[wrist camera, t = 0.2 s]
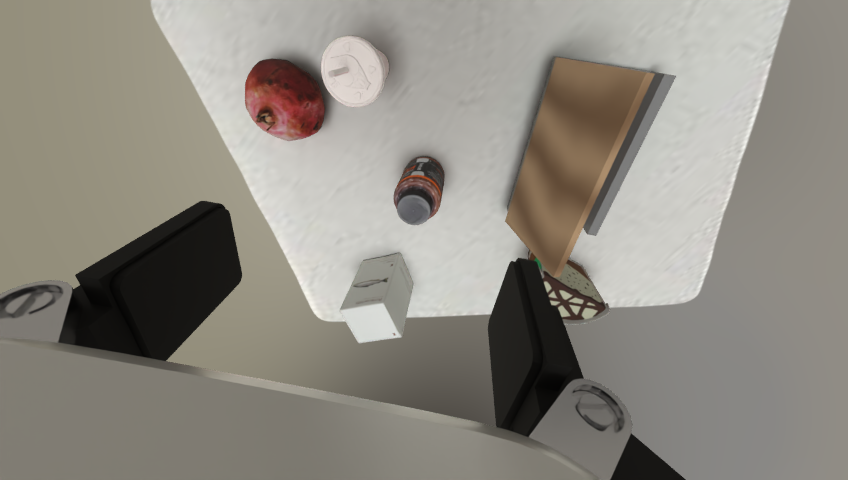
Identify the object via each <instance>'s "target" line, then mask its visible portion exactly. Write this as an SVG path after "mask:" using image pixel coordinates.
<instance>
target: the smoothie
mask: <svg viewBox="0 0 848 480" xmlns="http://www.w3.org/2000/svg"><path fill="white" fill-rule="evenodd" d="M321 74H322V78H323V81H324V84H325V86H326V88H327V90H328V91H329V93H330V94H331V95H332V96H333V97H334V98H335V99H336V100H337V101H339V102H340V103H342V104H344V105H346V106H349V107H362V106H365V105H368V104H371V103H372V102H373V101H375V100H376V99H377V98H378V96H379V95H380V94H381V92H382V89H383V87H384V83H385V79H386V78H387V76H388V74H389V62H388V59H387V57H386V56H385V55H384V54H383V53H382V52H381V51H379V50H377V49H376V48H375V47H374V46H373V45H372V44H371V43H370V42H368V41H366V40H365V39H363V38H361V37H357V36H353V35H352V36H343V37H340V38H337V39H335V40H334V41H332V42H331V43H330V44H329V45H328V46H327V48H326V49H325V51H324V53H323V56H322V60H321Z"/></svg>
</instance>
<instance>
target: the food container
mask: <svg viewBox="0 0 848 480" xmlns="http://www.w3.org/2000/svg"><path fill="white" fill-rule="evenodd" d="M528 260H533V261H536V262H537V264H538V267H539V270H540V272H541V275H542V278H543V281H544V284H545V287H546V290H547V293H548V296H549V299H550V302H551V305H555V306H557V307H558V309H559V311H560V314H561V317H562V319H563V322H564V324H584V323H589V322H592V321H595V320H598V319H600V318H602V317H604V316H606V315H607V314H609V313H610V311H609V310H610V308H609V306H608V303H606V304H605V302H604V301H603V299H602V297H601V296H600V294H599V292H598V291H597V289H596V287H595V286H594V284H593V283H592V281H591V279H590V278H589V276H588V274H587V273H586V271H585V269H584V268H583V266H582V265H580V264H578V263H577V262H575V261H573V260H571V259H569V258H568V260H567V262H566V265H565V267H564V269H563V271H562V273H561V275H560V277H553V276H552V275H551V274H550V273H549V271H548V270H547V269H546V268H545V267H544V266H543V265H542V263H541V262H540V261H539V260H538V259H537V258H536V256H535V255H534V254H533V253H532V252H531V251H530V250H529V252H528Z"/></svg>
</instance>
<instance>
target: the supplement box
mask: <svg viewBox="0 0 848 480" xmlns="http://www.w3.org/2000/svg"><path fill="white" fill-rule="evenodd" d="M412 288H413V282H412V279H411V277H410V275H409V272H408V270H407V267H406V265H405V263H404V260H403V258H402V256H401V254H400V253H397V254H394V255H390V256H385V257H380V258H375V259H370V260H364V261H363V262H362V264H361V266H360V268H359V270H358V272H357V274H356V276H355V279H354V281H353V283H352V285H351V287H350V289H349V291H348V293H347V296H346V298H345V300H344V302H343V304H342V306H341V308H340V310H339V311H340V313H341V314H342V316H343V318H344V319H345V321H346V322H347V324H348V326H349V328H350V329H351V331H352V333H353V334H354V336H355V338H356V339H357V341H358V343H364V342H370V341H377V340H385V339H392V338H400V337H402V334H403V329H404V325H405V320H406V316H407V311H408V306H409V302H410V297H411V293H412Z"/></svg>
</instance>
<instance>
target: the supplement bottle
mask: <svg viewBox="0 0 848 480" xmlns="http://www.w3.org/2000/svg"><path fill="white" fill-rule="evenodd" d="M443 186H444V171H443V169H442V167H441V165H440V164H439V163H438V162H437V161H436V160H434V159H432V158H429V157H418V158H416V159H414V160H412V161H411V162H410V163H409V164H408V165H407V166H406V168H405V170H404V172H403V174H402V177H401V179H400V181H399V183H398V185H397V187H396V189H395V192H394V204H395V206H396V208H397V212H398V215H399V217H400V218H401V219H402V220H403V221H404V222H406V223H408V224H411V225H419V224H422V223H424V222H426V221H427V219H429V218H431V217H432V216H434V215H435V214H436V212H437V211H438V209H439V207H440V203H441V198H442V191H443Z"/></svg>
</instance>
